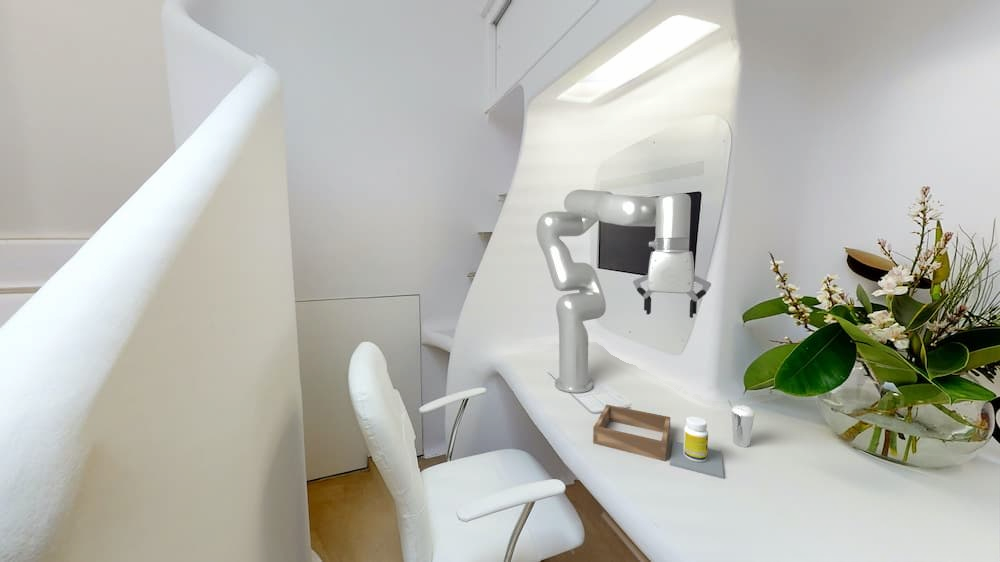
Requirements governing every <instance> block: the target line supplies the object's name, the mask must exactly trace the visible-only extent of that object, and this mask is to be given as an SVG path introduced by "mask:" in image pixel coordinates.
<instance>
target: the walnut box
mask: <svg viewBox="0 0 1000 562" xmlns="http://www.w3.org/2000/svg"><path fill="white" fill-rule="evenodd" d="M609 422H614V423H617V424H623V425H626V426H632V427H635V428H636V427H637V428H639V429H641V428H642V429H645V430H650V431H655V432H660V433H662V436H661V440H659V439H655V438H651V437H646V436H641V435H636V434H632V433H628V432H625V431H624V432H622V431H621V430H620V431H619V430H615V429H610V428H607V426H608V424H609ZM592 429H593V431H592V432H593V437H592V439H593V440H592V442H593V444H596V445H600V446H604V447H608V448H611V449H614V450H618V451H623V452H627V453H632V454H634V455H635V454H636V455H639V456H641V457H642V456H643V457H647V458H651V459H655V460H659V461H663V462H666V459H667V453H668V445H669V441H670V436H671V435H670V433H671V416H669V415H668V416H667V415H661V414H658V413H657V414H656V413H652V412H646V411H641V410H636V409H631V408H626V407H621V406H616V405H611V404H606V405H605V406H604V408H603V410H602V411H601V413H600V414H599V417H598V419H597V420H596V422H595V424H594V426H593V428H592Z"/></svg>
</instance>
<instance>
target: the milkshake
mask: <svg viewBox="0 0 1000 562" xmlns="http://www.w3.org/2000/svg"><path fill="white" fill-rule="evenodd" d="M727 401H728V402H729V403H728V404H729V405H730V408H731V420H732V441H733V444H735V445H736V446H738V447H742V448H748V447H750V443H751V438H752V431H753V426H754V424H753V423H754V419H755V412H754V410H753V409H752V408H751V407H750V406H746V405H744V404H743V405H739V404H738V405H735V406H732V404H731V402H730V400H729V399H728V400H727Z"/></svg>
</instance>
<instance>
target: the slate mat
mask: <svg viewBox="0 0 1000 562" xmlns="http://www.w3.org/2000/svg"><path fill="white" fill-rule="evenodd" d="M683 445H684V442H681V441H675V440H672V446H671V453H670V458H669V459H670V460H669V465H670V466H673V467H677V468H681V469H684V470H689V471H692V472H696V473H700V474H704V475H709V476H712V477H717V478H720V479H724V478H725V476H724V466H723V455H722V454H723V453H722V451H721V450H717V449H713V448H708V449H707V460H706V461H704V462H695V461H692V460H690V459H688V458H686V457H685V456H684V454H683Z"/></svg>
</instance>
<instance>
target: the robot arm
mask: <svg viewBox="0 0 1000 562" xmlns="http://www.w3.org/2000/svg"><path fill="white" fill-rule="evenodd" d="M691 199H692V198H691V196H690V195H689V194H687V193H682V192H680V193H679V192H675V193H666V194H662V195H660V196H658V197H657V196H645V195H644V196H643V195H625V194H614V193H612V192H611V191H604V190H603V191H602V190H590V189H574V190H572V191H570V192H569V193H568V194H567V195H566V196H565V198H564V201H563V206H564V209H565V211H558V210H557V211H548V212H545V213H543V214H542V215H541V216H540V217H539V219H538V220H537V223H536V229H535V230H536V232H535V233H536V238H537V242H538V244H539V246H540V248H541V250H542V252H543V255H544V257H545V261H546V264H547V267H548V270H549V274H550V278H551V281H552V284H553V286H554V288H555V290H557V291H560V292H571V291H578V292H574V293H568V294H564V295H562V296H561V297H559V299H557V302H556V306H555V310H556V316H557V321H558V337H559V338H558V341H559V346H558V347H559V348H558V349H559V353H558V354H559V355H558V356H559V357H558V358H559V359H558V360H559V366H558V367H559V369H558V371H559V373H558V374H559V375H558V377H557V378H556V379H555V380H554V386H555V387H556V388H557V389H558V390H560V391H562V392H565V393H572V394H573V393H574V394H580V393H581V394H582V393H586V392H589V391H591V390H592V389H593V384H594V383H593V382H592V380H590V379H589V334H588V330H587V328H586V327H585V324H584V322H585V321H590V320H596V319H600V318H601V317H603V316H604V315H605V313H606V309H607V304H606V299H605V296H604V292H603V290H602V285H601V283H600V280H599V277H598V274H597V271H596V270H595V269H594V267H593V266H592V265H591V264H589V263H587V262H574V260H573V259H572V255H571V251H570V249H569V248H568V246H567V245H566V243H565V242H564V241H563V240H561V238H560V237H579V236H582V235H584V234H585V233H587V231H588V230H590V229H591V228H592V227H593V226H594V225H595V224H596V223H597V222H598V221H600V222H602V223H605V224H606V223H607V224H613V225H617V226H624V227H655V236H654V237H655V238H654V240H652V241H650V240H649V241H648V248H653V249H654V251H651V252H650V257H649V260H648V261H649V262H648V270H647V271H648V272H647V274H645V275H643V276H641V277H638V278H636V279H634V280H633V281H632V283H633V285H634V287H635V290H636V291H637V292H638V294H639V295H640V296H642V298H643V299H644V300H643V305H644V306H643V310H644V311H646V315H650V314H651V313H652V297H651V295H652V294H653V293H665V294H666V293H667V294H687V295H688V297H690V299H691V300H689V318H690V319H691V318H692V319H693V318H694V315H697V306H698V301H699V300H700V299H702V298H703V297H704V296H705V295H706V294H707V292H709V289H710V288H711V287H712V283H711V282H710V281H708V280H706V279H704V278H702V277H699V276H698V275H696V274H695V262H694V255H693V251H690V232H691V230H690V229H691V208H692V206H691V205H692V201H691ZM645 281H647V290H645V289H644V288H643V286H642V284H641V283H643V282H645ZM695 282H696V283H698V284H700V285H701V286H702V288H701V289H700V290H699V291H698V292H697V293H696V292H695V290H694V288H695V287H694V286H695Z"/></svg>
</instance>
